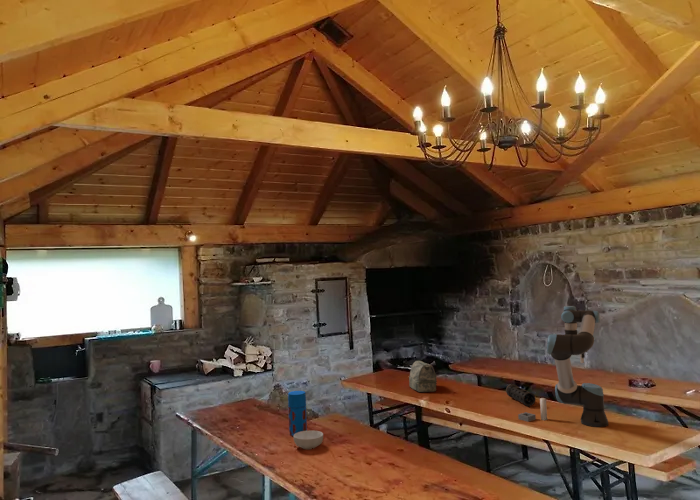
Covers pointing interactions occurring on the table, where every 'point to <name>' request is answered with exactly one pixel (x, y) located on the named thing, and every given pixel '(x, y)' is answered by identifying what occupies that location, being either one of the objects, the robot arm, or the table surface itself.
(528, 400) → the muzzle brake
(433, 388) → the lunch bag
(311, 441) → the cereal bowl
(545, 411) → the plug
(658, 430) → the table surface
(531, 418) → the socket block
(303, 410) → the thermos
